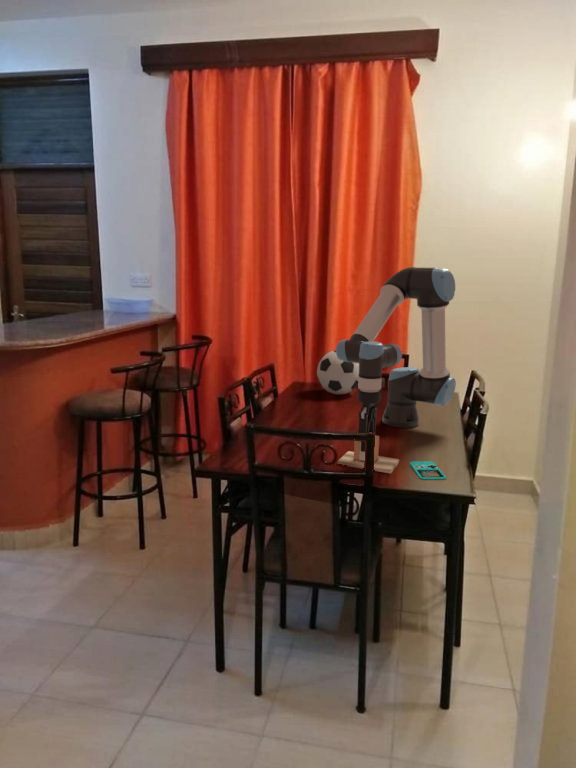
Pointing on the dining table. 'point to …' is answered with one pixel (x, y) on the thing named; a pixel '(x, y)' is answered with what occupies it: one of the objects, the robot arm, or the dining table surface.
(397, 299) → the robot arm
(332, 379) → the soccer ball
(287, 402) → the dining table surface
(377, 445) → the block
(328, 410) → the dining table surface
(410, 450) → the dining table surface
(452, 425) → the dining table surface
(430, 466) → the handheld gaming console
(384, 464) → the board
